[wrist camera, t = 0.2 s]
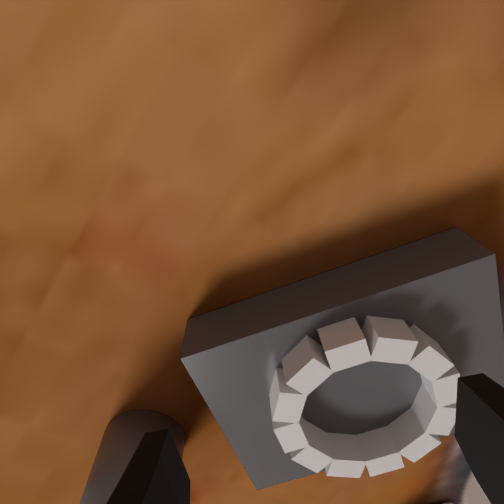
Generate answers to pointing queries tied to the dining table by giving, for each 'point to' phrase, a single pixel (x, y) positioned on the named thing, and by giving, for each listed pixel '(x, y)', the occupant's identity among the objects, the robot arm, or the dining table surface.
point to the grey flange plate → (351, 360)
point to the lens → (124, 450)
